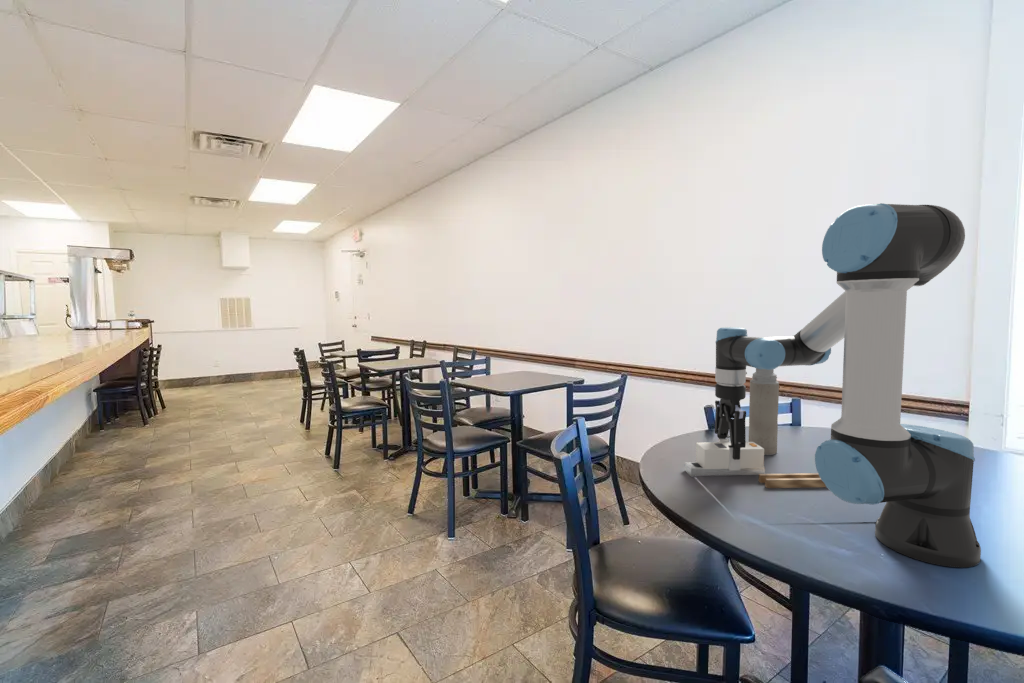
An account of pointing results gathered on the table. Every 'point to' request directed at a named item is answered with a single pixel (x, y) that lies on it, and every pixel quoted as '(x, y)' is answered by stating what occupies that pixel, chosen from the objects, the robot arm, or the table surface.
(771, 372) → the thermos bottle
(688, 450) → the table surface
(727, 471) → the keyhole plate
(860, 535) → the table surface
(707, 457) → the power strip
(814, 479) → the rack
